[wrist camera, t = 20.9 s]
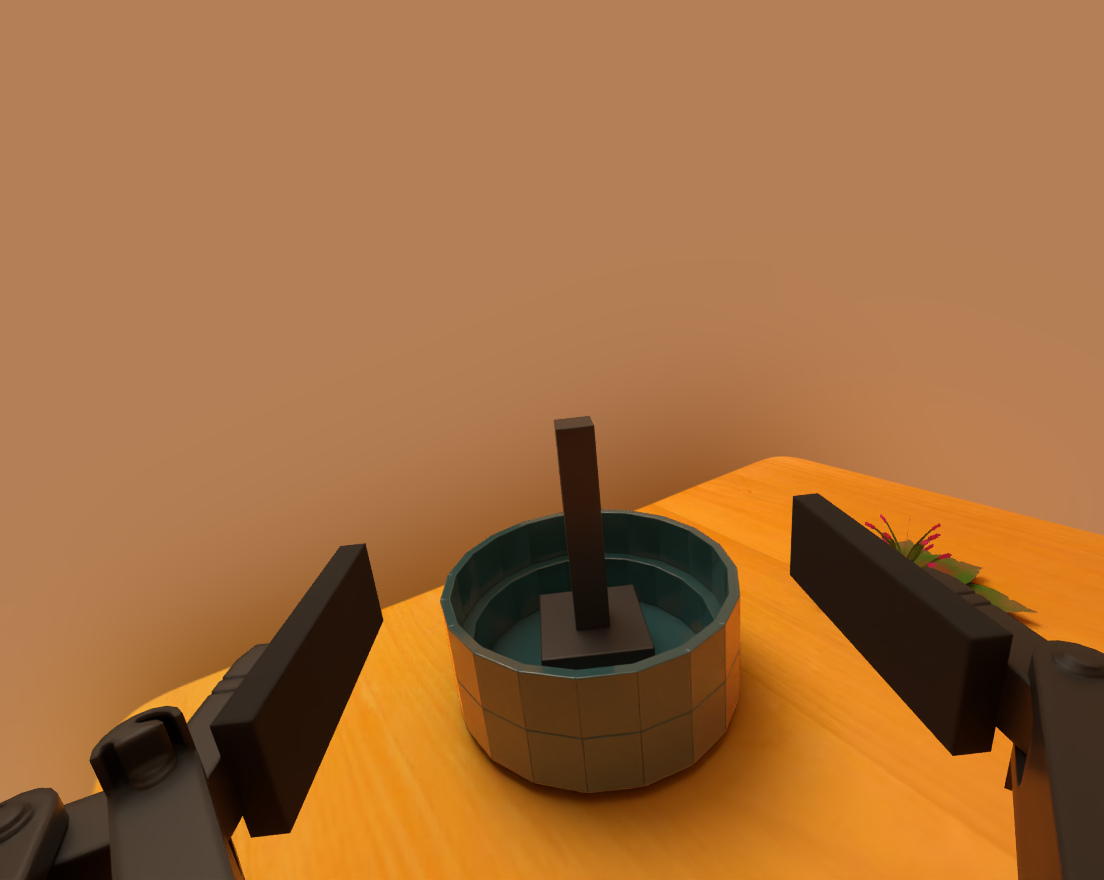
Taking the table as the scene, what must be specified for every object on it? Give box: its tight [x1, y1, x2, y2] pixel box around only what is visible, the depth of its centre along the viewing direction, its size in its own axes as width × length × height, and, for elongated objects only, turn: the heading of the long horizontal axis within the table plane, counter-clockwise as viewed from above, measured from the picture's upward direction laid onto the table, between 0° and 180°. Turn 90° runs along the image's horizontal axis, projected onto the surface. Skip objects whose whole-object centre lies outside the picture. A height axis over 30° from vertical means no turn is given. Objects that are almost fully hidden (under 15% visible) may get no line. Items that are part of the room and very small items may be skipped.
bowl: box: [440, 509, 740, 793], centre depth 28 cm, size 15×15×6 cm
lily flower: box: [865, 514, 1038, 613], centre depth 32 cm, size 12×12×5 cm
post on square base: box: [540, 416, 655, 670], centre depth 26 cm, size 6×6×14 cm
